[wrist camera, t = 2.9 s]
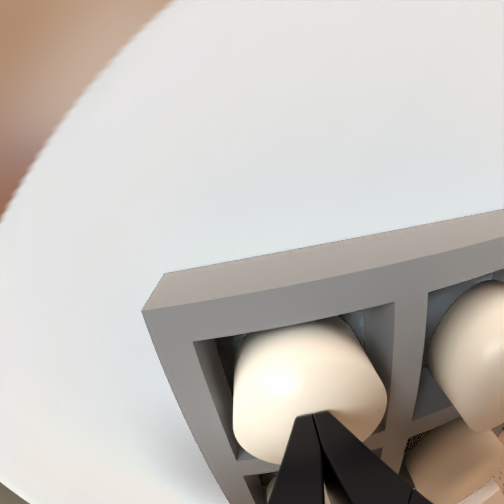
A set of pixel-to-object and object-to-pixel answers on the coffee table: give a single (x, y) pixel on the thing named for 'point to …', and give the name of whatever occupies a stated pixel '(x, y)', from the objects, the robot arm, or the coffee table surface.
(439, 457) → the button
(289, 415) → the button
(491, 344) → the button
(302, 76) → the coffee table surface
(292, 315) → the lights out board
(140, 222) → the coffee table surface
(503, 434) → the teacup with lid
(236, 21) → the coffee table surface
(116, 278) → the coffee table surface
